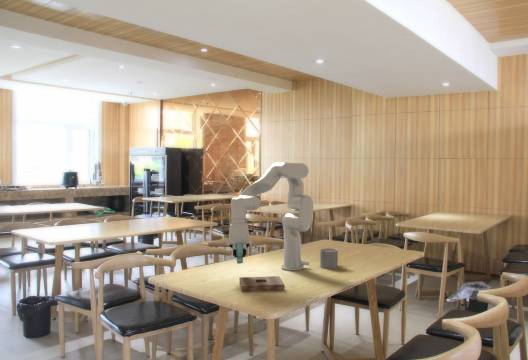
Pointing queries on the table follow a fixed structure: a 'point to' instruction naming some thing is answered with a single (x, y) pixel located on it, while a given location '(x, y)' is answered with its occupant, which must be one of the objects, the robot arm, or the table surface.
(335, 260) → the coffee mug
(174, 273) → the table surface
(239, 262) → the teal peg
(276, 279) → the walnut board
